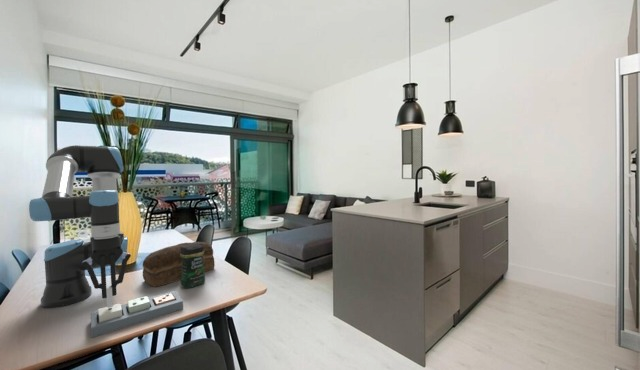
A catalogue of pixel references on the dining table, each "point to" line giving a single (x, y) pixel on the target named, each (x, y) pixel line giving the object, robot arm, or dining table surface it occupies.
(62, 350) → the dining table surface
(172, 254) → the bread
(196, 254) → the coffee jar
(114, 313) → the button one
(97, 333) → the console
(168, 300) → the button three
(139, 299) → the button two
